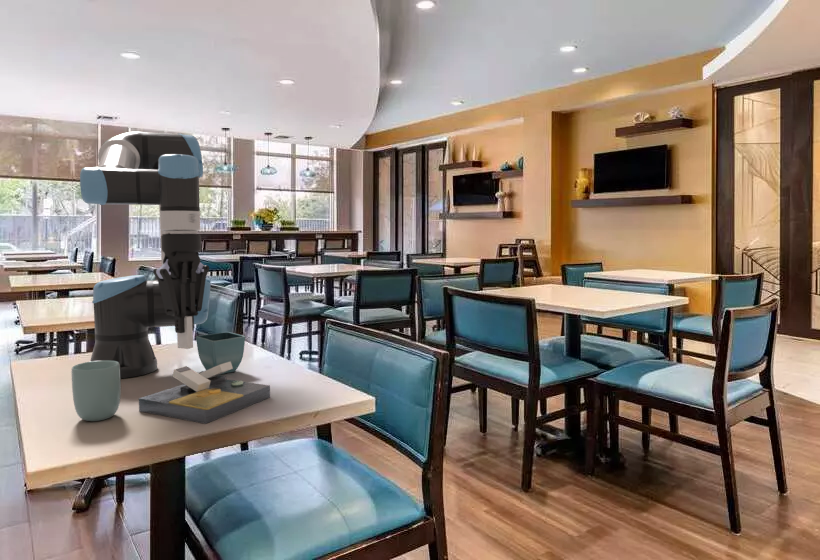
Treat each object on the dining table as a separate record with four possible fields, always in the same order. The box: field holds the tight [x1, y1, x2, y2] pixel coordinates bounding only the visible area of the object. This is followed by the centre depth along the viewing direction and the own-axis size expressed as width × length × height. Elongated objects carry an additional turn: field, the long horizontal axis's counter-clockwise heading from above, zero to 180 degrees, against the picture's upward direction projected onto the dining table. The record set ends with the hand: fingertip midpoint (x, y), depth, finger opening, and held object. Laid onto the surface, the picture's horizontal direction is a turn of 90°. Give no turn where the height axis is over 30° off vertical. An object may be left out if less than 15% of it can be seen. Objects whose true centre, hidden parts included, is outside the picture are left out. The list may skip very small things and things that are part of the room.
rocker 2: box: [198, 361, 233, 379], centre depth 123 cm, size 7×3×2 cm, turn 63°
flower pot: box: [195, 331, 246, 376], centre depth 141 cm, size 9×9×9 cm
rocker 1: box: [172, 365, 211, 392], centre depth 117 cm, size 7×3×2 cm, turn 66°
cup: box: [70, 360, 122, 422], centre depth 107 cm, size 8×8×10 cm
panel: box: [138, 374, 271, 425], centre depth 116 cm, size 17×18×3 cm
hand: (185, 347), depth 119 cm, fingers closed
